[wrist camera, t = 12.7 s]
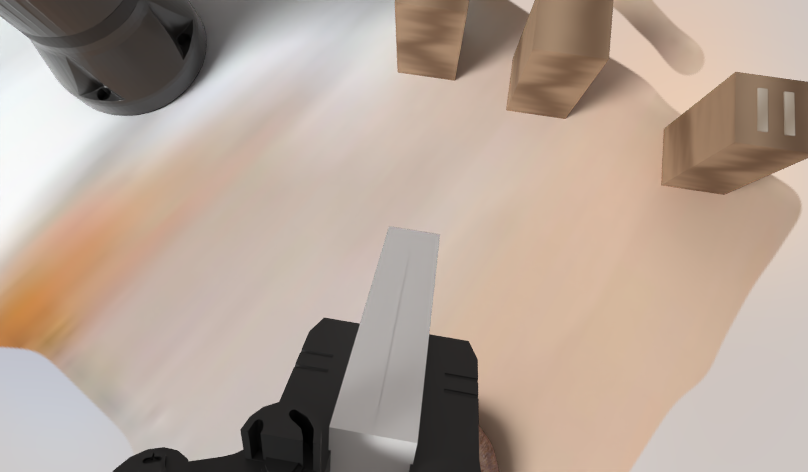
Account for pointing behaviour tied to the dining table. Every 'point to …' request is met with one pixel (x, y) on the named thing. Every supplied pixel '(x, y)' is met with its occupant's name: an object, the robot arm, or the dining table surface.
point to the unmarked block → (559, 55)
